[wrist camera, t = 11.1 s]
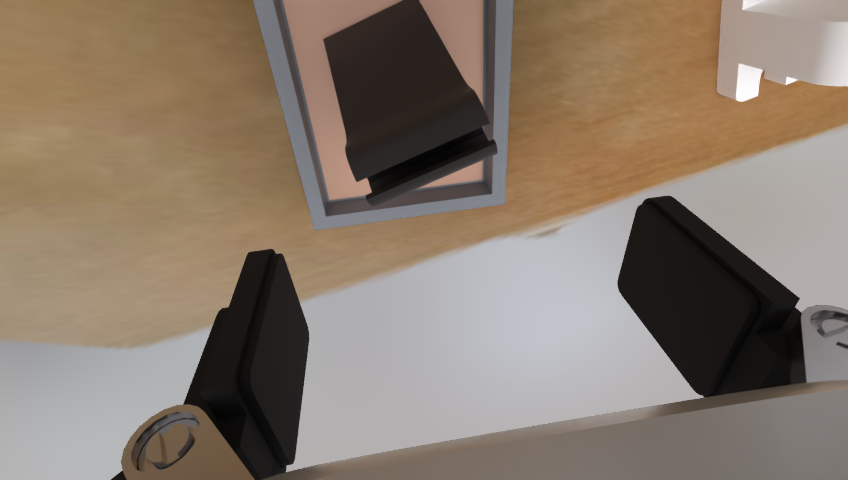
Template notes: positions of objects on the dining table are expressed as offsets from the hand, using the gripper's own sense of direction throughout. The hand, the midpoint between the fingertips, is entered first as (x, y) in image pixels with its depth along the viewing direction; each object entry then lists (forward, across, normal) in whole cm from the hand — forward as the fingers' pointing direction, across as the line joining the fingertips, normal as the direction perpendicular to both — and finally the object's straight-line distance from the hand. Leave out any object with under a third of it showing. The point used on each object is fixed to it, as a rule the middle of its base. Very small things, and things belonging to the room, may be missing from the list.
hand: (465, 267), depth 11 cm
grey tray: (+20, 0, +1) cm, 20 cm away
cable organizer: (+21, -25, -1) cm, 33 cm away
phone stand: (+20, 0, +1) cm, 20 cm away
